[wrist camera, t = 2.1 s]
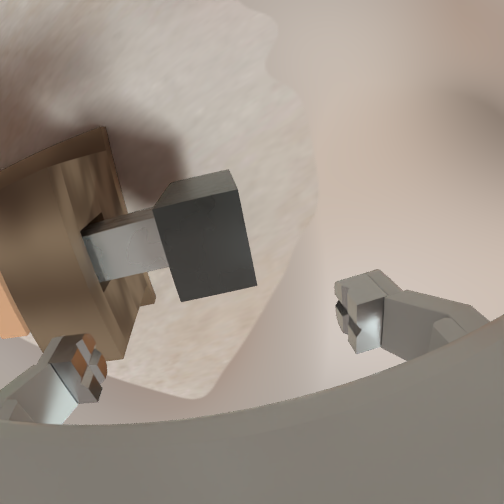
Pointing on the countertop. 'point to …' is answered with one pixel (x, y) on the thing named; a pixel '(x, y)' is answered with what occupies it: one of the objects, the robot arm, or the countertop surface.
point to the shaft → (180, 239)
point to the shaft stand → (66, 245)
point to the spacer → (10, 315)
